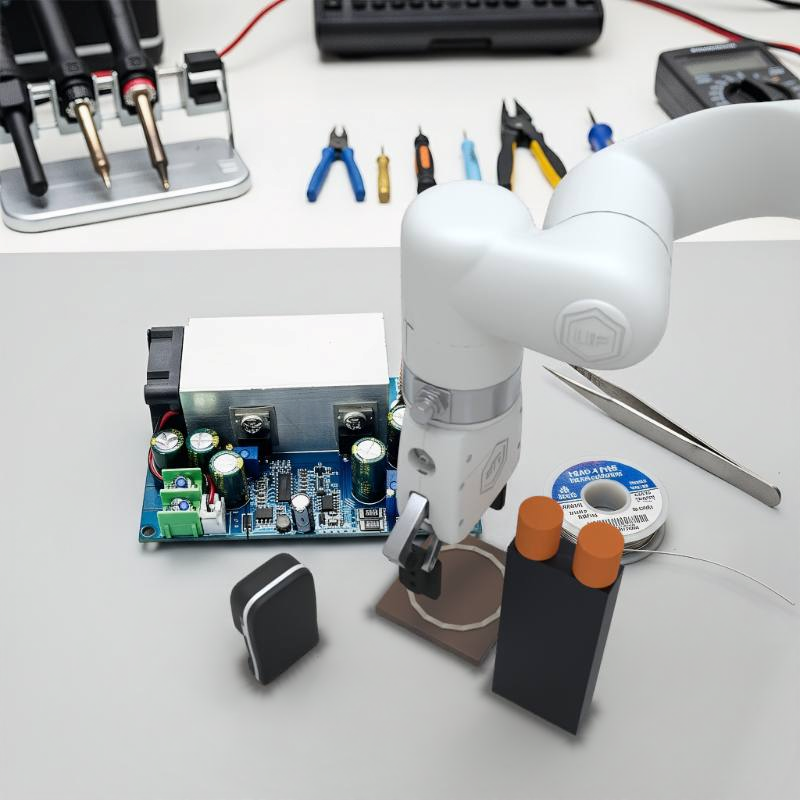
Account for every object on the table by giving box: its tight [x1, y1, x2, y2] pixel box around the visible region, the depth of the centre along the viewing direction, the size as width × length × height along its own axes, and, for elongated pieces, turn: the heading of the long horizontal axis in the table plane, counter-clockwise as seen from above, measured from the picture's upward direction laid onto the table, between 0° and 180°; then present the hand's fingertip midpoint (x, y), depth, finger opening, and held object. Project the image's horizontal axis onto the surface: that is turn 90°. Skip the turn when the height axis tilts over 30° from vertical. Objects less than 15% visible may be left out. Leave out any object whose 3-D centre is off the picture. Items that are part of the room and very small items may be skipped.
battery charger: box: [229, 552, 321, 685], centre depth 85 cm, size 7×4×11 cm, turn 134°
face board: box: [375, 533, 507, 668], centre depth 93 cm, size 11×12×1 cm
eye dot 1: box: [514, 495, 565, 561], centre depth 71 cm, size 3×3×4 cm
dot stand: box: [491, 534, 626, 736], centre depth 79 cm, size 8×3×20 cm, turn 58°
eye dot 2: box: [572, 521, 626, 588], centre depth 70 cm, size 3×3×4 cm
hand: (453, 543), depth 74 cm, fingers open, 9 cm apart
